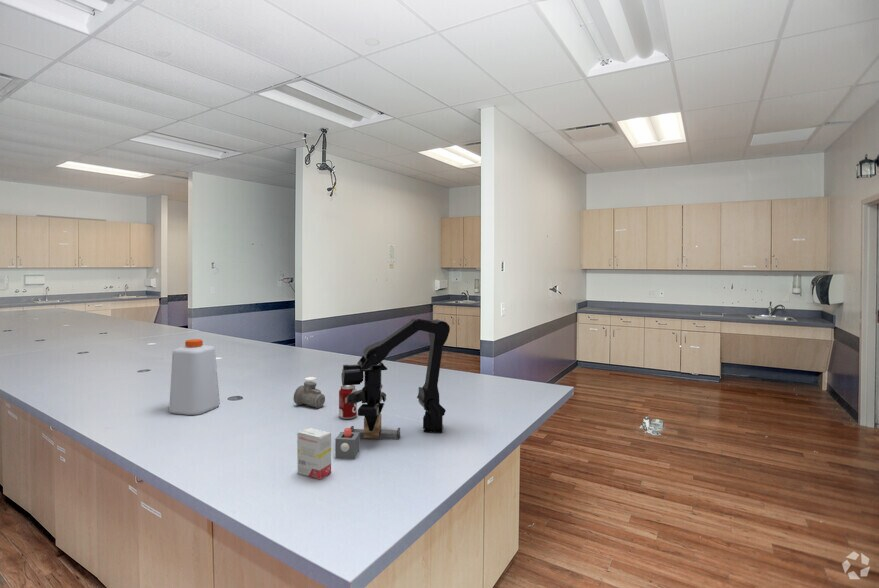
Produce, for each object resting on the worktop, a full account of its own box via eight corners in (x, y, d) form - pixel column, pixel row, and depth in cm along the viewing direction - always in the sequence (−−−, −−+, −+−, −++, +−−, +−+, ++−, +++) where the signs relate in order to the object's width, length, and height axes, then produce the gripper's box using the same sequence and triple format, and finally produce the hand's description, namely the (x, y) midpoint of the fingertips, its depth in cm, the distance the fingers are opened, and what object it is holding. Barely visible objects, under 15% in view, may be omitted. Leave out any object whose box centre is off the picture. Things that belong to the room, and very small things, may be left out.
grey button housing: (359, 451, 141) (359, 432, 141) (354, 459, 135) (354, 440, 135) (340, 450, 142) (340, 431, 141) (335, 458, 135) (335, 439, 135)
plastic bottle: (197, 417, 171) (196, 344, 169) (163, 413, 174) (162, 342, 172) (224, 405, 185) (223, 338, 184) (192, 402, 188) (191, 336, 187)
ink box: (332, 473, 126) (332, 431, 125) (320, 480, 122) (320, 437, 121) (309, 466, 130) (309, 426, 129) (296, 473, 126) (296, 432, 125)
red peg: (352, 440, 139) (352, 428, 139) (350, 443, 137) (350, 430, 137) (345, 440, 139) (345, 427, 139) (343, 443, 137) (343, 430, 137)
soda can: (339, 420, 169) (339, 389, 168) (338, 415, 175) (338, 384, 174) (357, 419, 170) (357, 388, 170) (355, 413, 177) (356, 383, 176)
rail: (400, 436, 154) (400, 427, 154) (399, 439, 151) (399, 430, 151) (351, 434, 155) (351, 426, 155) (349, 437, 152) (349, 429, 152)
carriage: (381, 432, 155) (381, 413, 155) (378, 438, 150) (378, 418, 150) (367, 432, 156) (367, 413, 155) (363, 437, 151) (363, 418, 150)
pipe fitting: (291, 405, 185) (294, 381, 184) (304, 402, 192) (308, 378, 192) (313, 413, 180) (316, 388, 179) (326, 409, 187) (330, 385, 186)
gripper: (356, 375, 162) (356, 418, 163) (342, 390, 143) (342, 437, 144) (386, 376, 161) (386, 419, 162) (376, 391, 143) (376, 438, 143)
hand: (372, 428), depth 153 cm, fingers closed on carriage, 5 cm apart
